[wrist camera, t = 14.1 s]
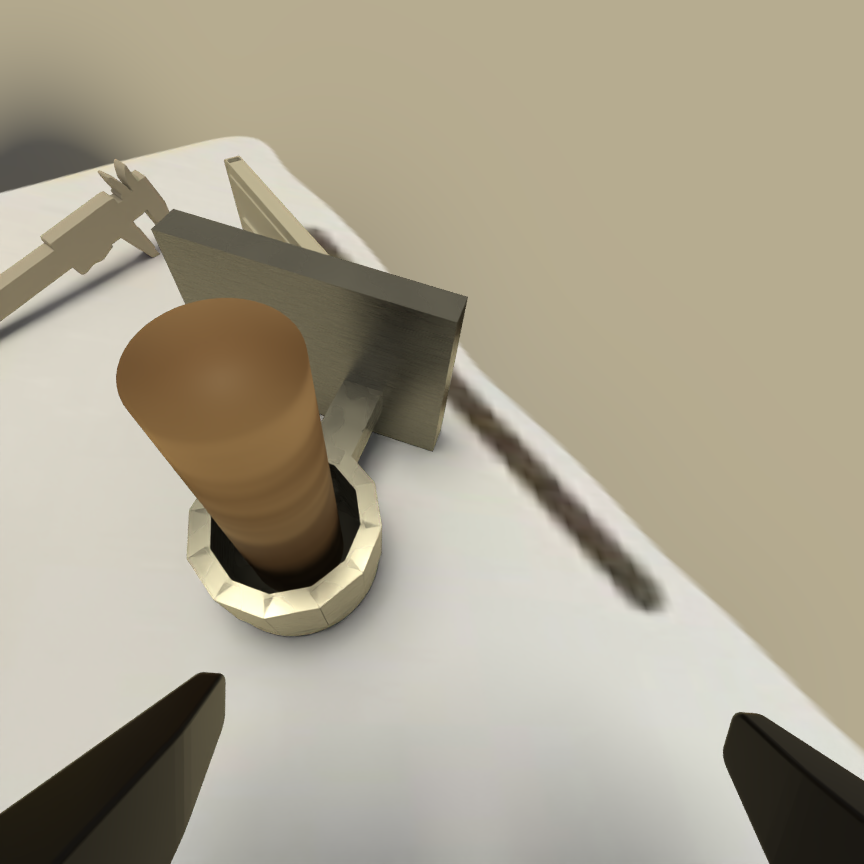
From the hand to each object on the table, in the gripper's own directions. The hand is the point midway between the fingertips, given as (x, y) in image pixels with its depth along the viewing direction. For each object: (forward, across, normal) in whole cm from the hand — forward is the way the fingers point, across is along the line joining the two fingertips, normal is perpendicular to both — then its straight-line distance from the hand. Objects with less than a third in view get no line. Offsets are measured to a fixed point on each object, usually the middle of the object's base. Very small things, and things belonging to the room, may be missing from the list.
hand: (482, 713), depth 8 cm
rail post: (+13, +6, +4) cm, 15 cm away
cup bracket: (+16, +8, +3) cm, 18 cm away
